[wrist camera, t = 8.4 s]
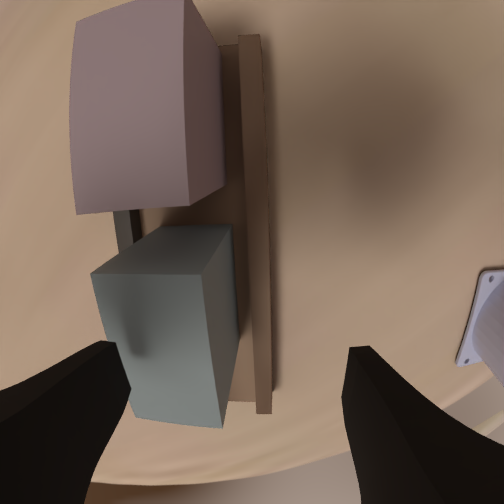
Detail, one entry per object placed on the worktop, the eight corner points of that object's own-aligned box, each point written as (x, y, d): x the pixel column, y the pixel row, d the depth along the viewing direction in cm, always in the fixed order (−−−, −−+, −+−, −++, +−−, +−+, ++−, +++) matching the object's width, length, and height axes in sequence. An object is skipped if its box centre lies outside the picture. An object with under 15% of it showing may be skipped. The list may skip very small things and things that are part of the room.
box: (221, 53, 13) (184, -12, 6) (227, 184, 15) (189, 205, 8) (145, 66, 13) (71, 23, 6) (150, 189, 15) (72, 215, 9)
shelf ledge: (261, 49, 13) (259, 34, 11) (272, 392, 20) (271, 414, 18) (122, 70, 14) (104, 61, 12) (163, 386, 21) (155, 405, 19)
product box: (232, 223, 16) (201, 274, 9) (239, 339, 18) (222, 428, 11) (156, 226, 16) (85, 273, 9) (173, 337, 18) (131, 416, 11)
